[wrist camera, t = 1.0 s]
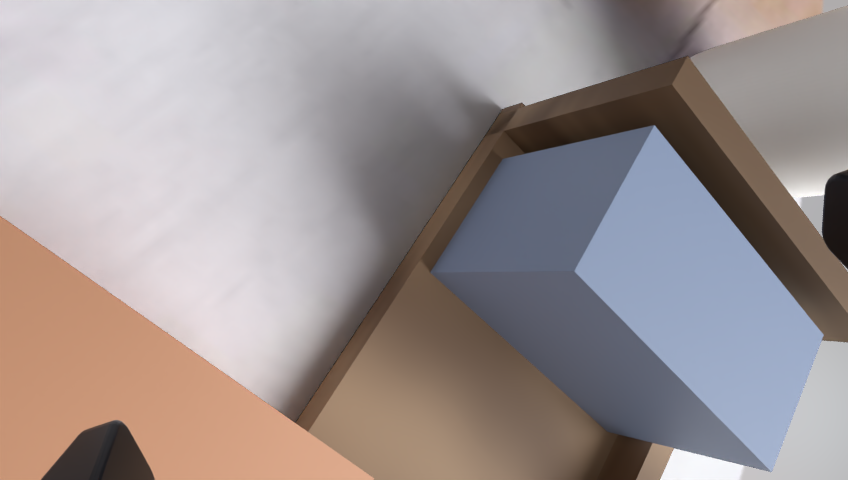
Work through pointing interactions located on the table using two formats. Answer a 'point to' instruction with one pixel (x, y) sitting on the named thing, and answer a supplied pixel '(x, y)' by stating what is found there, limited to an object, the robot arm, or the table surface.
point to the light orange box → (127, 385)
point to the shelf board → (499, 361)
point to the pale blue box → (636, 296)
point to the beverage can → (789, 96)
